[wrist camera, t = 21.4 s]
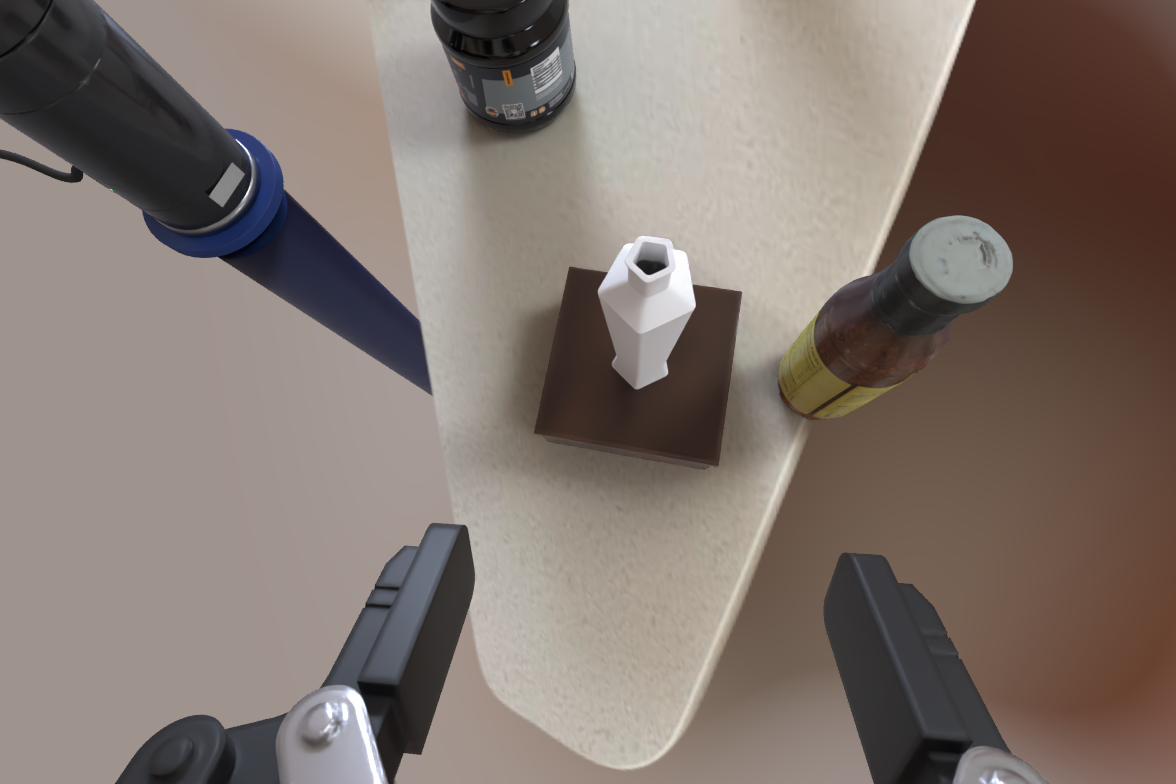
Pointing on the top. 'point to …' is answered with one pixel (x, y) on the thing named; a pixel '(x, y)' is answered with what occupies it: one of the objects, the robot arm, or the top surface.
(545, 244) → the top surface
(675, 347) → the box
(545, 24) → the supplement container
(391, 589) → the robot arm
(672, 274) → the white faceted vase
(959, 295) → the sauce bottle
